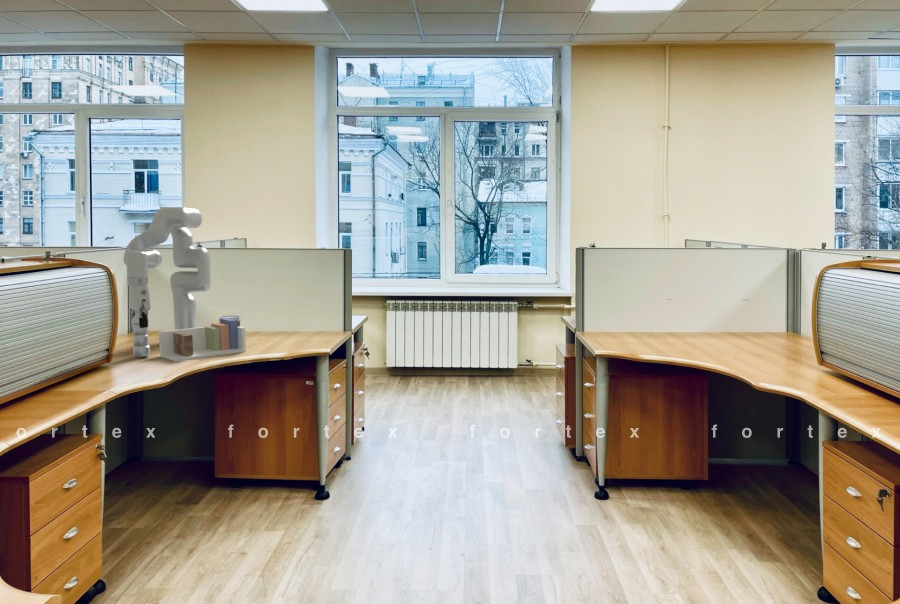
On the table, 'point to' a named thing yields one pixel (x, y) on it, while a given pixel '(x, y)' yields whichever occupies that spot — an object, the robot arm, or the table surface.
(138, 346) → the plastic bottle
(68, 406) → the table surface
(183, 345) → the bookend
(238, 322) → the disposable coffee cup
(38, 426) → the table surface
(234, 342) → the shelf
